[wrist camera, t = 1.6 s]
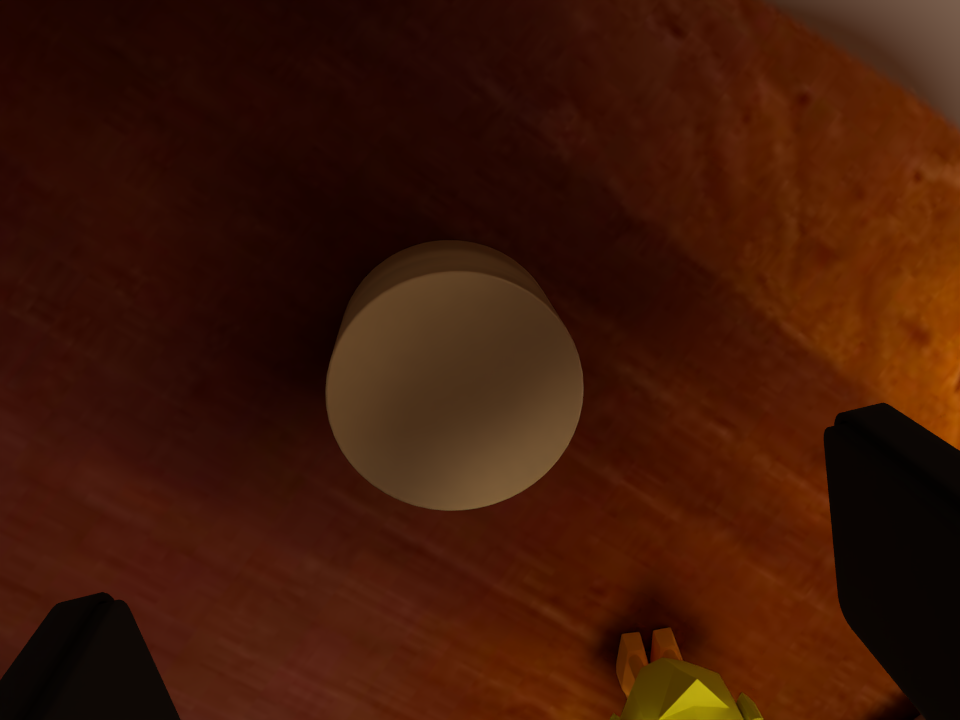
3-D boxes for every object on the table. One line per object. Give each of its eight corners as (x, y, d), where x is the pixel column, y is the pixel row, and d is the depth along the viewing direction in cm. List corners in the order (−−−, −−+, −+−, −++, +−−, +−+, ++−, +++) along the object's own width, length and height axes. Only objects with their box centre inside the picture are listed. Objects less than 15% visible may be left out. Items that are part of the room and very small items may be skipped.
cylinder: (293, 338, 18) (269, 388, 15) (461, 192, 17) (471, 214, 14) (438, 483, 20) (443, 555, 17) (599, 355, 19) (634, 406, 16)
